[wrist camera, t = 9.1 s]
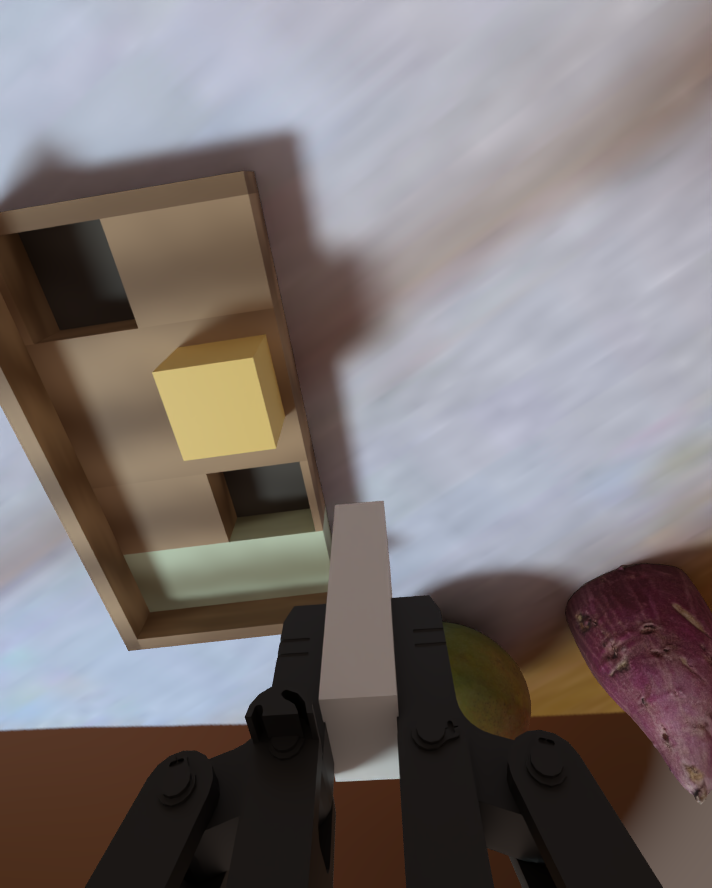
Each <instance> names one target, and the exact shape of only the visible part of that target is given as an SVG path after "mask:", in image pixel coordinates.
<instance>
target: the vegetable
mask: <svg viewBox="0 0 712 888" xmlns="http://www.w3.org/2000/svg"><path fill="white" fill-rule="evenodd" d="M566 619H567V622H568V624H569V627H570V630H571V632H572V635H573V637H574V639H575V641H576V644H577V646H578V648H579V650H580V652H581V654H582V656H583V658H584V659H585V661H586V663H587V665H588V667H589V669H590V670H591V672H592V674H593V675H594V677H595V678H596V679H597V681H598V682H599V684H600V685H601V686H602V687H603V688H604V689H605V691H606V692H607V693H608V694H609V696H610V697H611V698H612V699H613V700H614V701H615V702H616V703H617V704H618V705H619V706H620V707H621V708H622V709H623V710H624V711H625V712H626V713H627V714H628V715H629V716H630V717H631V718H632V719H633V720H634V721H635V722H636V723H637V724H638V726H639V727H640V728H641V729H642V730H643V732H644V733H645V734H646V735H647V737H648V738H649V739H650V740H651V741H652V743H653V745H654V747H656V748H657V749H658V751H659V752H660V754H661V755H662V757H663V758H664V760H665V762H666V764H667V765H668V766H669V769H670V771H671V772H672V773H673V774H674V775H675V777H676V778H677V780H678V781H679V782H680V783H681V784H682V786H683V787H684V788H685V789H686V790H687V791H688V792H689V793H691V794H693V795H694V797H695V799H696V801H697V802H699V803H700V804H702V803H703V802H704V801H705V800H706V797H707V795H708V794H709V792H710V791H711V790H712V613H711V611H710V609H709V607H708V606H707V604H706V602H705V601H704V599H703V598H702V596H701V595H700V593H699V591H698V590H697V588H696V587H695V586H694V584H693V583H692V581H691V580H690V579H689V577H688V576H687V575H686V574H685V573H684V572H683V571H682V570H680V569H679V568H677V567H674V566H667V565H660V564H658V565H655V564H639V565H633V566H628V567H623V566H620V567H619V568H618V569H616V570H614V571H611V572H609V573H606V574H604V575H601V576H599V577H597V578H596V579H594V580H592V581H590V582H588V583H585V584H584V585H583V586H582V587H581V588H580V589H579V590H577V591H576V593H574V594H573V596H572V597H571V598H570V600H569V602H568V603H567V607H566Z"/></svg>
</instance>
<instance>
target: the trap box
mask: <svg viewBox="0 0 712 888" xmlns="http://www.w3.org/2000/svg"><path fill="white" fill-rule="evenodd" d="M265 334H266V337H267V342H268V346H269V350H270V354H271V358H272V363H273V367H274V371H275V375H276V380H277V384H278V388H279V392H280V396H281V401H282V405H283V409H284V413H285V419H284V423H283V426H282V430H281V433H280V437H279V440H278V444H277V447H276V449H269V450H262V451H255V452H247V453H240V454H232V455H225V456H217V457H210V458H203V459H195V460H188V461H184V460H183V458H182V455H181V452H180V449H179V446H178V444H177V441H176V438H175V435H174V432H173V430H172V427H171V424H170V421H169V418H168V416H167V413H166V410H165V407H164V404H163V402H162V399H161V396H160V393H159V390H158V388H157V385H156V382H155V379H154V377H153V374H152V372H153V371H154V370H155V369H156V368H157V367H158V366H159V365H160V364H161V363H162V362H163V361H164V360H165V359H166V358H167V357H168V356H169V355H170V354H171V353H172V352H173V351H175V350H176V349H177V348H178V347H185V346H191V345H198V344H205V343H211V342H218V341H225V340H231V339H238V338H245V337H251V336H258V335H265ZM0 405H1V407H2V409H3V411H4V413H5V415H6V417H7V419H8V421H9V423H10V425H11V427H12V428H13V430H14V432H15V434H16V436H17V438H18V440H19V442H20V444H21V446H22V448H23V450H24V451H25V453H26V455H27V457H28V459H29V461H30V463H31V465H32V467H33V469H34V471H35V473H36V474H37V476H38V478H39V480H40V482H41V484H42V486H43V488H44V490H45V492H46V494H47V496H48V497H49V499H50V501H51V503H52V505H53V507H54V509H55V511H56V513H57V515H58V517H59V519H60V520H61V522H62V524H63V526H64V528H65V530H66V532H67V534H68V536H69V538H70V540H71V542H72V543H73V545H74V547H75V549H76V551H77V553H78V555H79V557H80V559H81V561H82V563H83V565H84V566H85V568H86V570H87V572H88V574H89V576H90V578H91V580H92V582H93V584H94V586H95V588H96V589H97V591H98V593H99V595H100V597H101V599H102V601H103V603H104V605H105V607H106V609H107V611H108V612H109V614H110V616H111V618H112V620H113V622H114V624H115V626H116V628H117V630H118V632H119V634H120V636H121V637H122V639H123V641H124V643H125V645H126V647H127V649H128V651H132V650H141V649H150V648H160V647H169V646H178V645H187V644H196V643H206V642H215V641H224V640H233V639H242V638H252V637H261V636H270V635H279V634H282V628H283V622H284V621H285V619H286V618H287V616H288V615H289V613H290V612H291V610H292V609H293V607H294V606H303V605H317V604H327V593H328V581H329V569H330V557H331V545H332V535H331V530H330V525H329V521H328V516H327V511H326V507H325V502H324V497H323V493H322V488H321V483H320V478H319V474H318V469H317V464H316V460H315V455H314V450H313V446H312V441H311V436H310V432H309V427H308V422H307V417H306V413H305V408H304V403H303V399H302V394H301V389H300V385H299V380H298V375H297V371H296V366H295V361H294V356H293V352H292V347H291V342H290V338H289V333H288V328H287V324H286V319H285V314H284V309H283V305H282V300H281V295H280V291H279V286H278V281H277V277H276V272H275V267H274V263H273V258H272V253H271V248H270V244H269V239H268V234H267V230H266V225H265V220H264V216H263V211H262V206H261V202H260V197H259V192H258V187H257V183H256V178H255V173H254V171H240V172H234V173H228V174H222V175H216V176H210V177H205V178H199V179H193V180H187V181H181V182H175V183H169V184H163V185H157V186H152V187H146V188H140V189H134V190H128V191H122V192H116V193H110V194H104V195H99V196H93V197H87V198H81V199H75V200H69V201H63V202H57V203H51V204H46V205H40V206H34V207H28V208H22V209H16V210H10V211H4V212H0Z"/></svg>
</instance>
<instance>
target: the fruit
mask: <svg viewBox="0 0 712 888" xmlns="http://www.w3.org/2000/svg"><path fill="white" fill-rule="evenodd" d="M442 623H443V629H444V634H445V639H446V646H447V650H448V656H449V661H450V667H451V672H452V677H453V683H454V688H455V694H456V699H457V702H458V705H459V708H460V710H461V711H462V713H463V714H464V716H465V717H466V718H467V719H468V720H469V721H470V722H471V723H472V724H473V725H475V726H476V727H478V728H479V729H481V730H483V731H485V732H488V733H491V734H494V735H497V736H501V737H505V738H508V739H512V740H515V738H516V737H518V736H519V735H521V734H523V733H525V732H526V731H528V728H529V722H530V716H531V700H530V695H529V691H528V687H527V684H526V681H525V679H524V677H523V674H522V672H521V671H520V669H519V667H518V665H517V664H516V663H515V661H514V660H513V659H512V658H511V657H510V655H509V654H508V653H507V652H506V651H505V650H504V649H502V648H501V647H500V646H499V645H498V644H497V643H496V642H494V641H493V640H492V639H490V638H489V637H487V636H486V635H484V634H482V633H480V632H478V631H476V630H474V629H471V628H469V627H466V626H463V625H459V624H454V623H448V622H442Z"/></svg>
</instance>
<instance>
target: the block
mask: <svg viewBox="0 0 712 888" xmlns="http://www.w3.org/2000/svg"><path fill="white" fill-rule="evenodd" d="M152 374H153V377H154V379H155V382H156V385H157V388H158V390H159V393H160V396H161V399H162V402H163V404H164V407H165V410H166V413H167V416H168V418H169V421H170V424H171V427H172V430H173V432H174V435H175V438H176V441H177V444H178V446H179V449H180V452H181V455H182V458H183V460H184V461H188V460H195V459H203V458H210V457H217V456H225V455H232V454H240V453H247V452H255V451H262V450H269V449H276V447H277V444H278V440H279V437H280V433H281V430H282V426H283V423H284V419H285V413H284V409H283V405H282V401H281V396H280V392H279V388H278V384H277V380H276V375H275V371H274V367H273V363H272V358H271V354H270V350H269V346H268V342H267V337H266V334H265V335H258V336H251V337H245V338H238V339H231V340H225V341H218V342H211V343H205V344H198V345H191V346H185V347H178V348H177V349H176V350H175V351H173V352H172V353H171V354H170V355H169V356H168V357H167V358H166V359H165V360H164V361H163V362H162V363H161V364H160V365H159V366H158V367H157V368H156V369H155V370H154V371H153V372H152Z"/></svg>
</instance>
